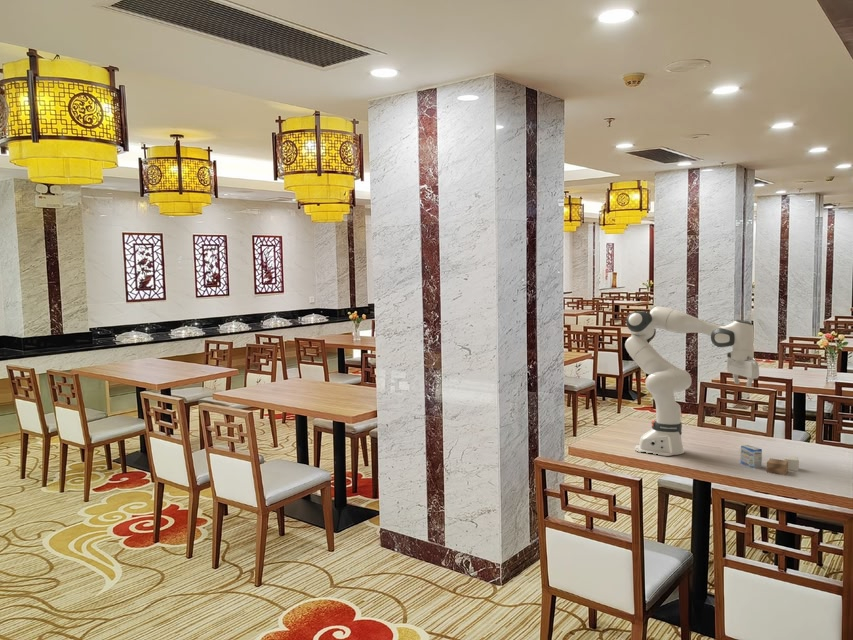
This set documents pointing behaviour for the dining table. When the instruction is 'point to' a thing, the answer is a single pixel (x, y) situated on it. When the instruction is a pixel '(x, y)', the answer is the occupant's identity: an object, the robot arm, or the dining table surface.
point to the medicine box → (751, 456)
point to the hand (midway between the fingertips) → (742, 385)
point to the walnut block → (777, 466)
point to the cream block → (792, 463)
